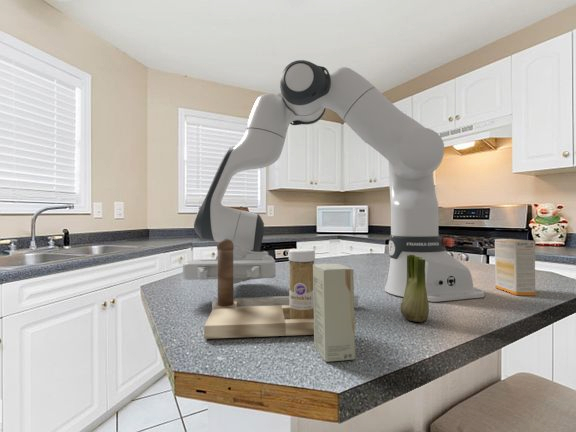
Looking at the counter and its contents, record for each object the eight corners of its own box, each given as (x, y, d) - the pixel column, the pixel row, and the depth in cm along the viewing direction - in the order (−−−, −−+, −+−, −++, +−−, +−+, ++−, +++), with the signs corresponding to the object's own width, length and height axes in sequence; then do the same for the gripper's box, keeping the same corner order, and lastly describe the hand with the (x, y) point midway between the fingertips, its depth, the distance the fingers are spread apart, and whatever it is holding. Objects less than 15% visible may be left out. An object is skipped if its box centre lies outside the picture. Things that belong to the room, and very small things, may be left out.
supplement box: (536, 295, 75) (536, 240, 75) (516, 295, 75) (515, 240, 75) (512, 288, 83) (512, 238, 83) (494, 288, 84) (494, 238, 84)
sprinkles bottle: (290, 331, 53) (289, 250, 53) (288, 322, 58) (287, 248, 58) (317, 330, 54) (316, 250, 54) (313, 321, 58) (312, 247, 58)
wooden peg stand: (318, 308, 65) (317, 236, 65) (333, 333, 51) (333, 242, 51) (216, 311, 63) (216, 238, 63) (204, 338, 49) (203, 244, 49)
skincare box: (356, 361, 42) (355, 269, 42) (324, 363, 41) (324, 270, 41) (340, 342, 48) (340, 262, 48) (312, 344, 48) (312, 262, 48)
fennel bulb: (429, 326, 55) (429, 257, 55) (399, 323, 57) (399, 256, 57) (428, 317, 60) (428, 253, 60) (401, 314, 62) (400, 252, 62)
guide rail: (355, 305, 68) (355, 294, 68) (358, 307, 66) (358, 295, 66) (213, 310, 65) (213, 298, 65) (212, 312, 64) (212, 300, 64)
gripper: (189, 252, 77) (174, 260, 63) (274, 251, 79) (276, 258, 65) (190, 278, 77) (174, 292, 63) (274, 276, 79) (276, 289, 65)
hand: (227, 275), depth 64 cm, fingers open, 8 cm apart
